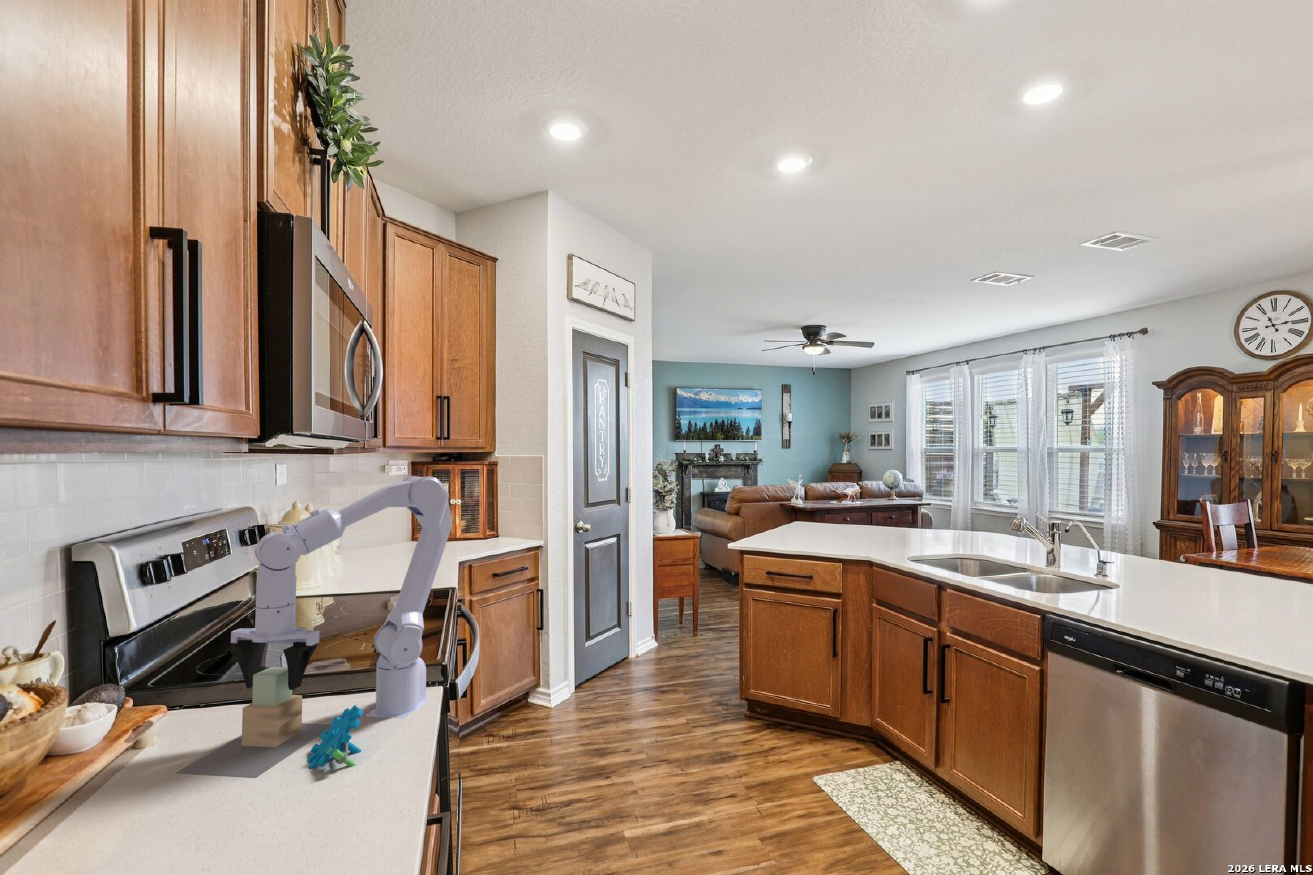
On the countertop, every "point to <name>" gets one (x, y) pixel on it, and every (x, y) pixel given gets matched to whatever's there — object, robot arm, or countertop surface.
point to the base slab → (271, 734)
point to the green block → (271, 687)
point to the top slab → (272, 714)
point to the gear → (337, 740)
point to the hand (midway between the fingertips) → (273, 686)
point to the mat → (251, 755)
